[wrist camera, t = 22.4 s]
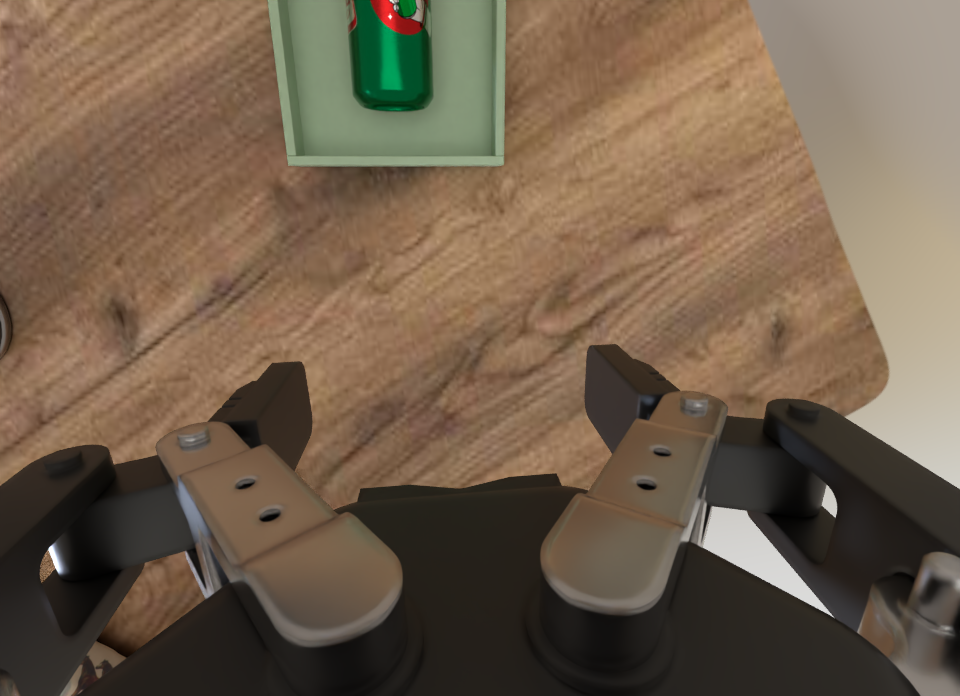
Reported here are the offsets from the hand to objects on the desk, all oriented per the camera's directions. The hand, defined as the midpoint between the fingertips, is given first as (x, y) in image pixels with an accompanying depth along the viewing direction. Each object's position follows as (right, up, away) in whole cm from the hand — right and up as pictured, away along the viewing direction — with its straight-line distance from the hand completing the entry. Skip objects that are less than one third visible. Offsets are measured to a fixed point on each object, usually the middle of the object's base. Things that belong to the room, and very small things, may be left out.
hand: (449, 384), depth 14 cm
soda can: (-5, +16, +17) cm, 24 cm away
